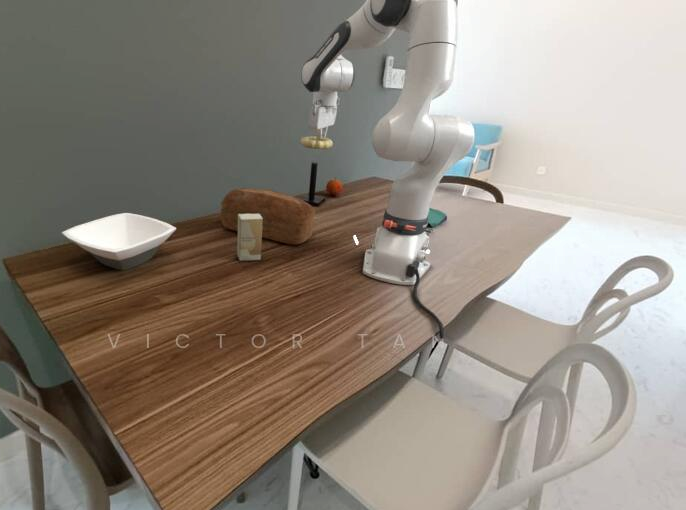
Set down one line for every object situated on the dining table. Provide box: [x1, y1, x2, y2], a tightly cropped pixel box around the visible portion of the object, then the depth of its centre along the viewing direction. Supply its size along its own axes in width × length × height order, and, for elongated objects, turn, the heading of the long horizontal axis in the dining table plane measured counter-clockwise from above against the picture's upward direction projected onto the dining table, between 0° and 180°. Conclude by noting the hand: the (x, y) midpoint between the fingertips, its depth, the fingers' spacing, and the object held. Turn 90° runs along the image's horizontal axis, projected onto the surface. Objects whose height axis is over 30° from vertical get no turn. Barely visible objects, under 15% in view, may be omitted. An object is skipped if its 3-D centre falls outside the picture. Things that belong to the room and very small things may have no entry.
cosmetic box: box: [236, 214, 263, 262], centre depth 108 cm, size 6×4×12 cm
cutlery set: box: [425, 207, 448, 237], centre depth 146 cm, size 20×30×2 cm, turn 149°
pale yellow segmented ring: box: [299, 135, 333, 150], centre depth 148 cm, size 12×12×3 cm
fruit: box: [325, 178, 344, 197], centre depth 168 cm, size 7×7×8 cm
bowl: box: [61, 212, 177, 271], centre depth 104 cm, size 22×23×8 cm
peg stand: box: [297, 161, 326, 208], centre depth 156 cm, size 9×9×16 cm
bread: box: [220, 187, 316, 246], centre depth 124 cm, size 12×31×14 cm, turn 65°
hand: (320, 139), depth 152 cm, fingers closed on pale yellow segmented ring, 3 cm apart
